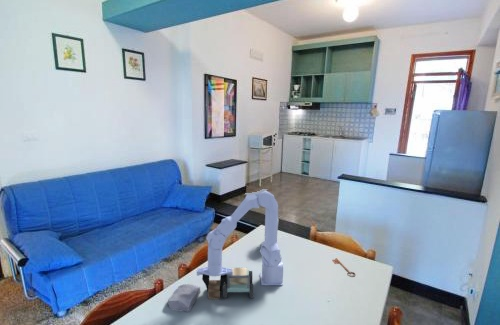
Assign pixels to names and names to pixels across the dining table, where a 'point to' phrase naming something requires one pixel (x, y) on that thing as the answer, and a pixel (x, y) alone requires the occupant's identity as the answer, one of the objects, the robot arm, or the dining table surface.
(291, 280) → the dining table surface
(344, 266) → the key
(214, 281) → the walnut chock
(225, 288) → the dark framed glass box
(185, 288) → the stone block
